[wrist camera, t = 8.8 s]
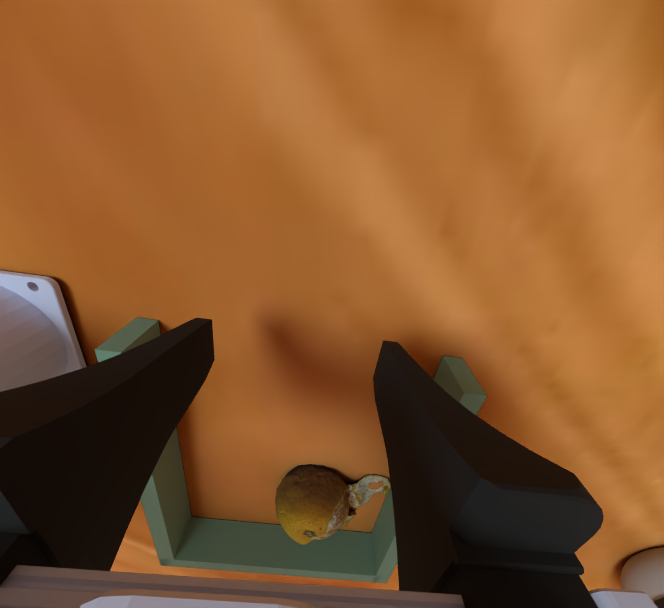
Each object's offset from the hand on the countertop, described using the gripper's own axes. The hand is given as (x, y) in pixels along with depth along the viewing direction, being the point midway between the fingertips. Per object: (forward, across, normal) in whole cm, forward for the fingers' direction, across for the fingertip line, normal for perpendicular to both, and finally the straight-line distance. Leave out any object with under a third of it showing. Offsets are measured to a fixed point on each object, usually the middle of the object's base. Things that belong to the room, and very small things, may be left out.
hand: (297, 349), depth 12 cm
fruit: (+4, -4, +17) cm, 18 cm away
